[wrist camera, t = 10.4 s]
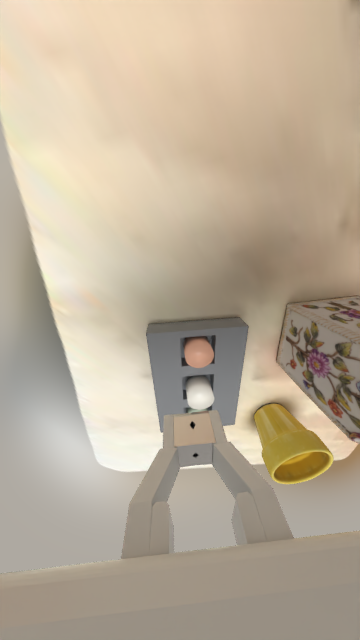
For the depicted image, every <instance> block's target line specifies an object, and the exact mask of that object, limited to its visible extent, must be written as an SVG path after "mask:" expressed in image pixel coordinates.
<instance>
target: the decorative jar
mask: <svg viewBox="0 0 360 640" xmlns="http://www.w3.org/2000/svg"><path fill="white" fill-rule="evenodd" d="M277 363H278V364H279V365H280V367H281V368H282V369H283V370H284V371H285V372H286V373H287V374H288V375H289V377H290V378H291V379H292V380H293V381H294V382H295V383H296V384H297V385H298V386H299V387H300V389H301V390H302V391H303V392H304V393H305V394H306V395H307V396H308V397H309V398H310V399H311V400H312V401H313V402H314V403H315V404H316V405H317V406H318V408H319V409H321V410H322V411H323V412H324V413H325V415H326V416H327V417H328V418H329V419H330V420H332V422H333V423H335V425H336V426H337V427H338V428H339V429H340V430H341V431H342V432H343V433H344V434H346V436H347V437H348V438H349V439H350V440H351V441H354V442H357V443H359V444H360V296H352V297H344V298H335V299H326V300H317V301H309V302H300V303H290V304H287V309H286V315H285V319H284V325H283V330H282V335H281V340H280V344H279V350H278V356H277Z"/></svg>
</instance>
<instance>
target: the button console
mask: <svg viewBox="0 0 360 640" xmlns="http://www.w3.org/2000/svg"><path fill="white" fill-rule="evenodd" d="M247 333H248V325H247V324H246V323H245V322H244V321H243V320H242V319H241V318H240V317H238V318H224V319H211V320H197V321H183V322H170V323H156V324H148V328H147V333H146V336H147V343H148V349H149V356H150V363H151V370H152V377H153V383H154V390H155V397H156V404H157V410H158V417H159V424H160V431H161V432H163V426H164V415H171V414H183V413H186V408H187V407H190V406H189V405H188V401H187V393H186V382H187V381H188V379H190V378H191V377H193V376H197V375H200V376H204V377H206V378H207V379H208V380H209V382H210V385H211V388H212V392H213V395H214V402H213V404H212V405H211V406H209V407H208V411H212V410H217V411H218V412H219V415H220V419H221V422H222V426H226V425H235V418H236V411H237V404H238V397H239V390H240V383H241V376H242V369H243V362H244V355H245V348H246V340H247ZM196 336H206V337H207V338H208V340H209V343H210V345H211V347H212V349H213V352H214V358H213V360H212V362H211V363H210V364H209V365H207V366H205V367H202V368H194V367H191V366H190V365H188V364H187V362H186V359H185V354H184V348H183V343H184V340H185V339H186V338H187V337H196Z"/></svg>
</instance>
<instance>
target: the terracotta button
mask: <svg viewBox="0 0 360 640" xmlns="http://www.w3.org/2000/svg"><path fill="white" fill-rule="evenodd" d="M183 348H184V354H185V359H186V362H187V364H188V365H190V366H191V367H194V368H202V367H205V366H207V365H209V364H210V363H211V362H212V360H213V358H214V352H213V349H212V347H211V345H210V343H209V340H208V338H207V337H206V336H196V337H187V338H186V339H185V340H184V343H183Z"/></svg>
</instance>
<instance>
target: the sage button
mask: <svg viewBox="0 0 360 640" xmlns="http://www.w3.org/2000/svg"><path fill="white" fill-rule="evenodd" d="M201 411H208V408H206V409H201V410H197V409H193V408H191V407H187V408H186V413H192V412H201Z"/></svg>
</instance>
